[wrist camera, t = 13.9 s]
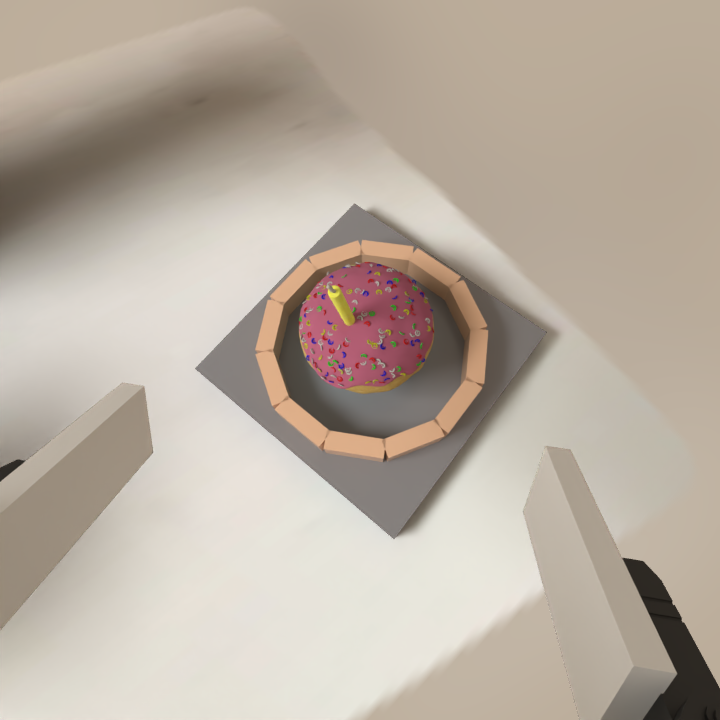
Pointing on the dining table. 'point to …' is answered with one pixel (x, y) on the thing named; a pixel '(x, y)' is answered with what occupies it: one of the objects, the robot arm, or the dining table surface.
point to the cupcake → (366, 328)
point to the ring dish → (382, 409)
